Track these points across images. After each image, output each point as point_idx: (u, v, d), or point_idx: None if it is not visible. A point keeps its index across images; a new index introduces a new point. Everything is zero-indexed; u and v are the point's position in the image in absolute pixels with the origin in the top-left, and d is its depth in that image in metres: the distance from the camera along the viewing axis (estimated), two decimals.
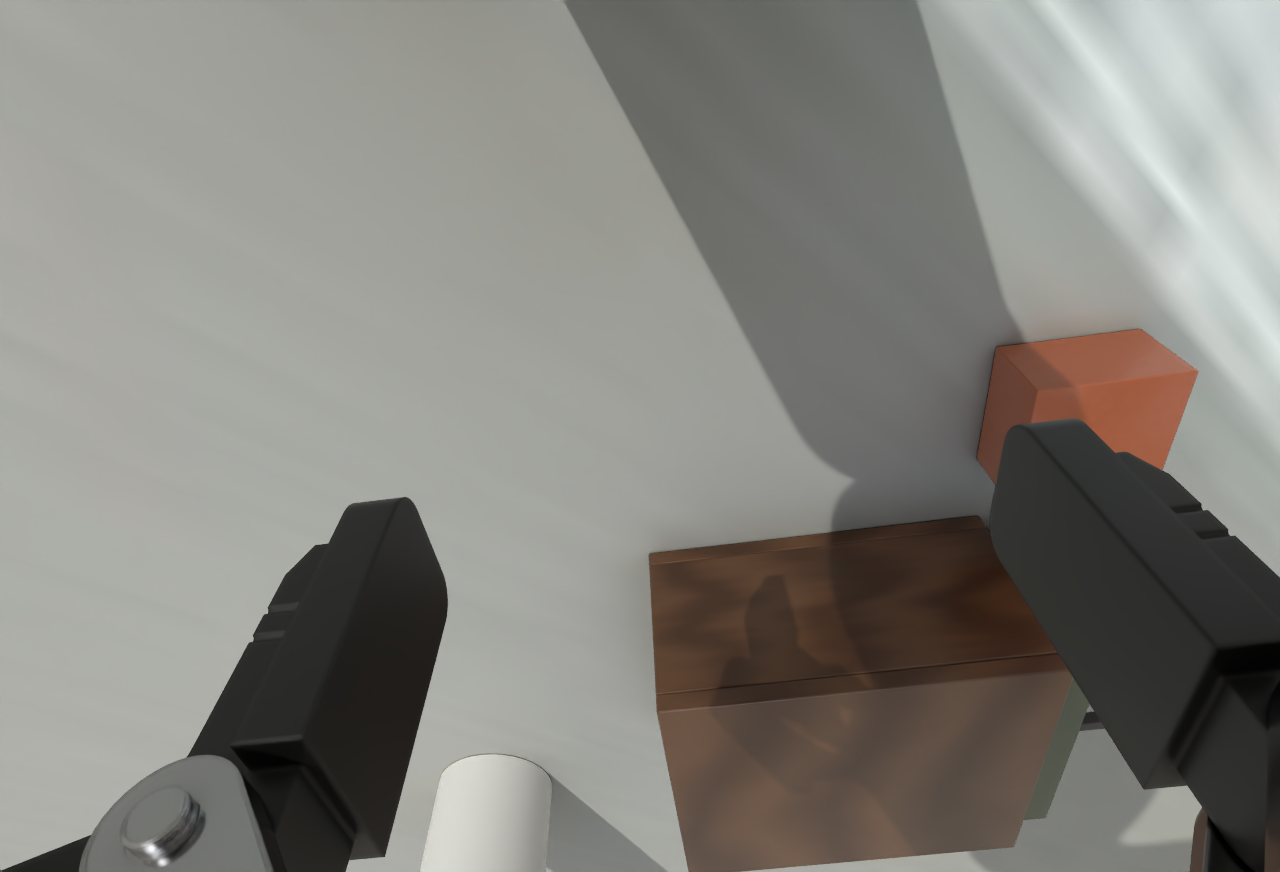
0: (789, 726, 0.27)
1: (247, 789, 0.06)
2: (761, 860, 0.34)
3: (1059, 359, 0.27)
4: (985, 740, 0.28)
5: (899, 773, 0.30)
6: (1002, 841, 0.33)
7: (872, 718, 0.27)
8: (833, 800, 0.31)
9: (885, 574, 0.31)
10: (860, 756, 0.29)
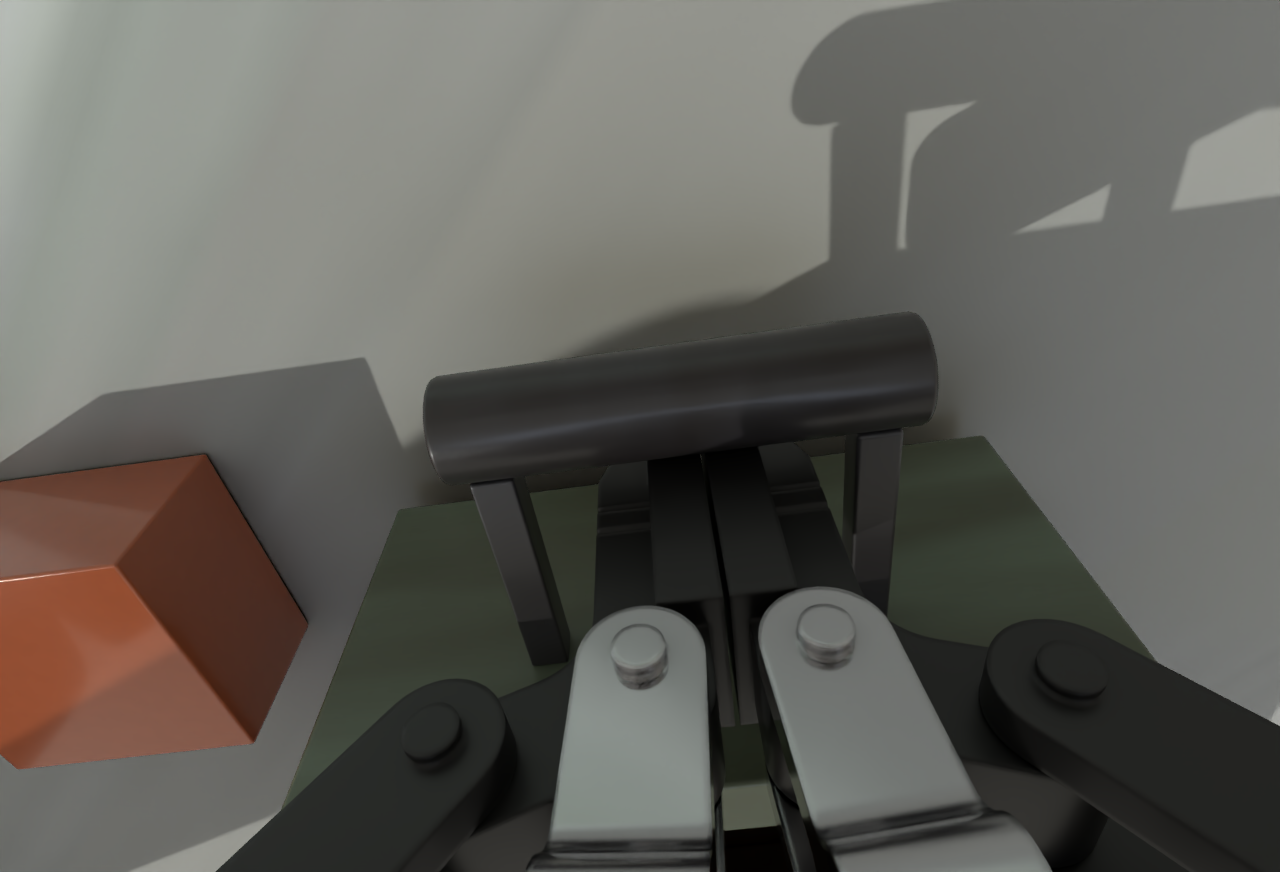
0: None
1: (706, 667, 0.06)
2: None
3: None
4: None
5: None
6: None
7: None
8: None
9: None
10: None
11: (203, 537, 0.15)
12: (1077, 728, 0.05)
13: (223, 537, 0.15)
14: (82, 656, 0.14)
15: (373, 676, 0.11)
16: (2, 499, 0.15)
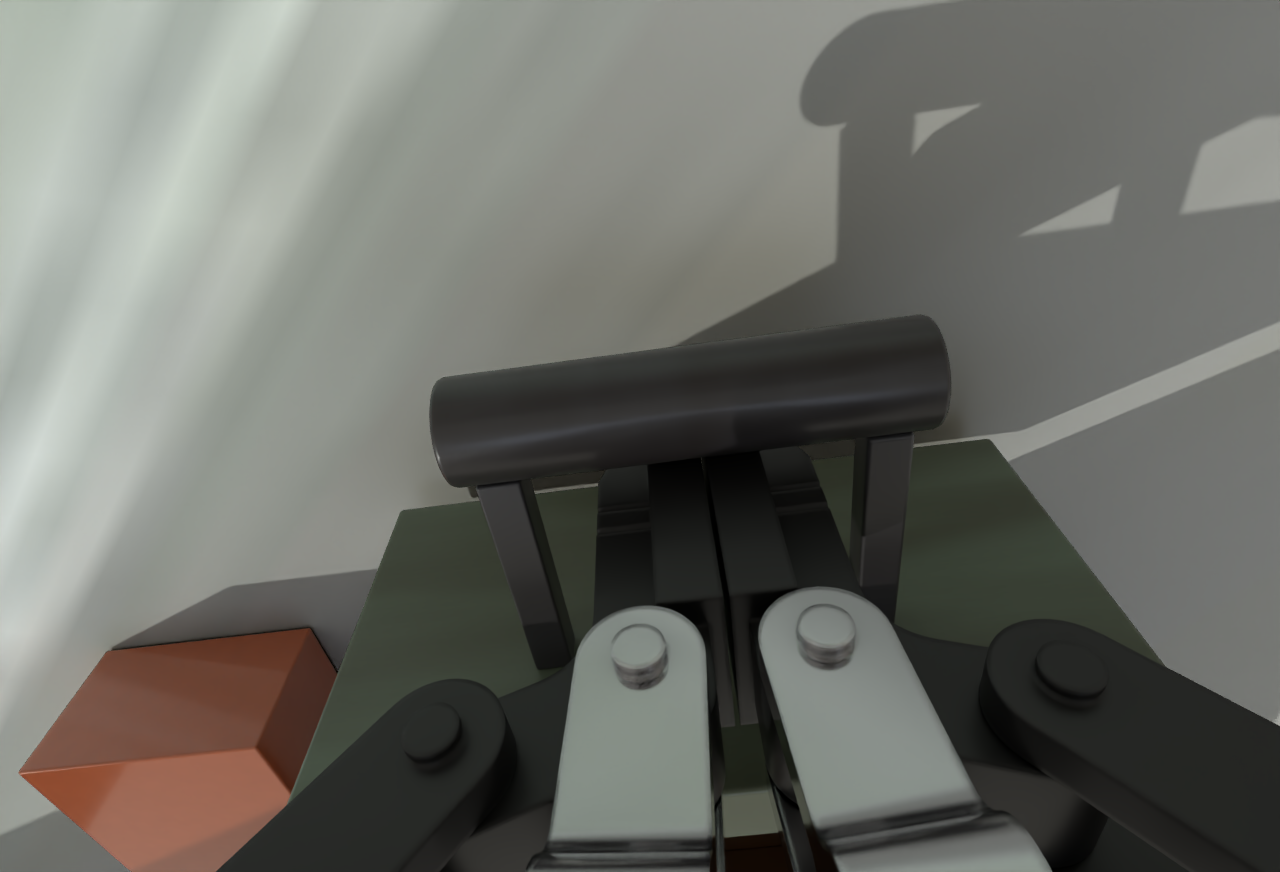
0: None
1: (706, 668, 0.06)
2: None
3: None
4: None
5: None
6: None
7: None
8: None
9: None
10: None
11: (310, 701, 0.18)
12: (1077, 728, 0.05)
13: (323, 695, 0.19)
14: (217, 808, 0.17)
15: (376, 679, 0.11)
16: (144, 669, 0.18)
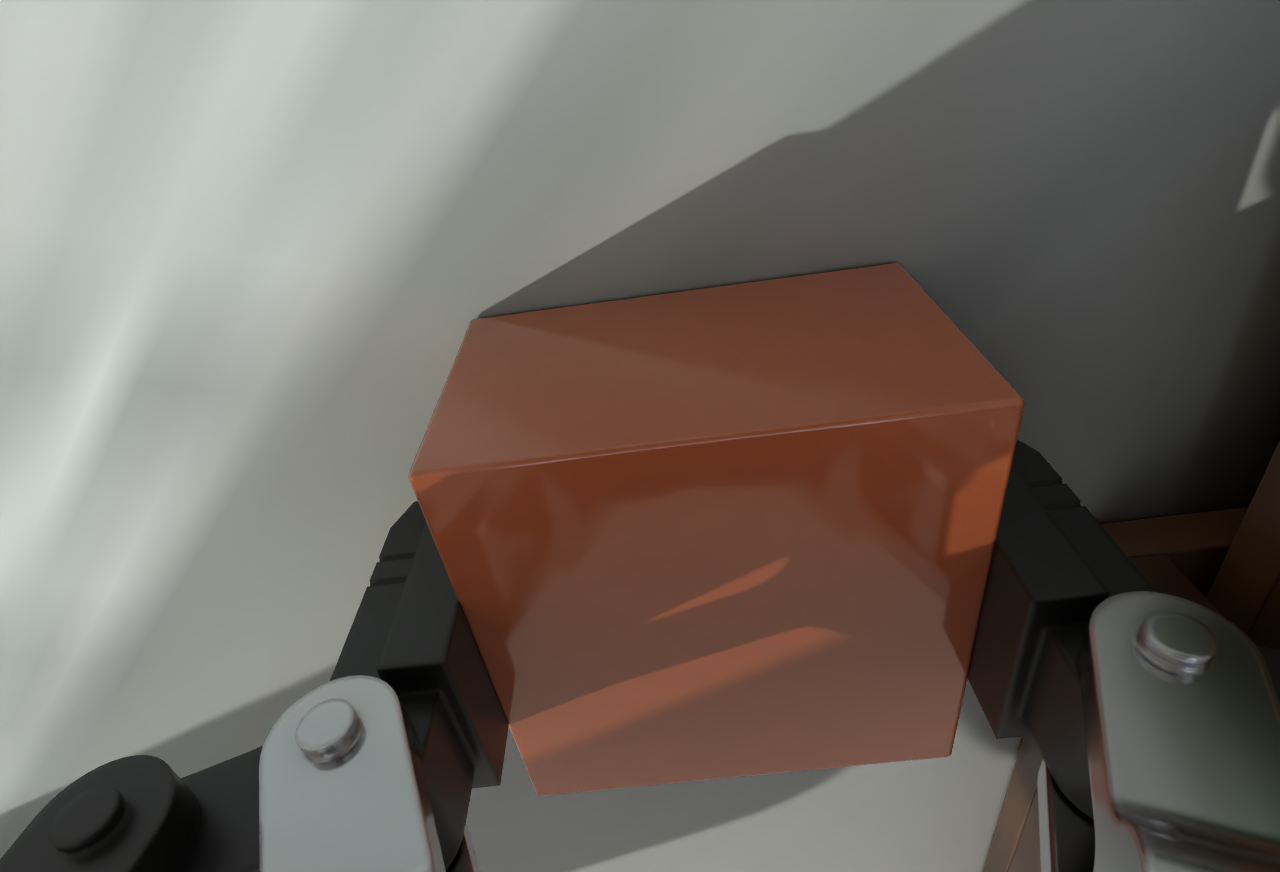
0: None
1: (403, 716, 0.06)
2: None
3: None
4: None
5: None
6: None
7: None
8: None
9: None
10: None
11: None
12: None
13: None
14: (804, 597, 0.07)
15: None
16: (581, 329, 0.09)
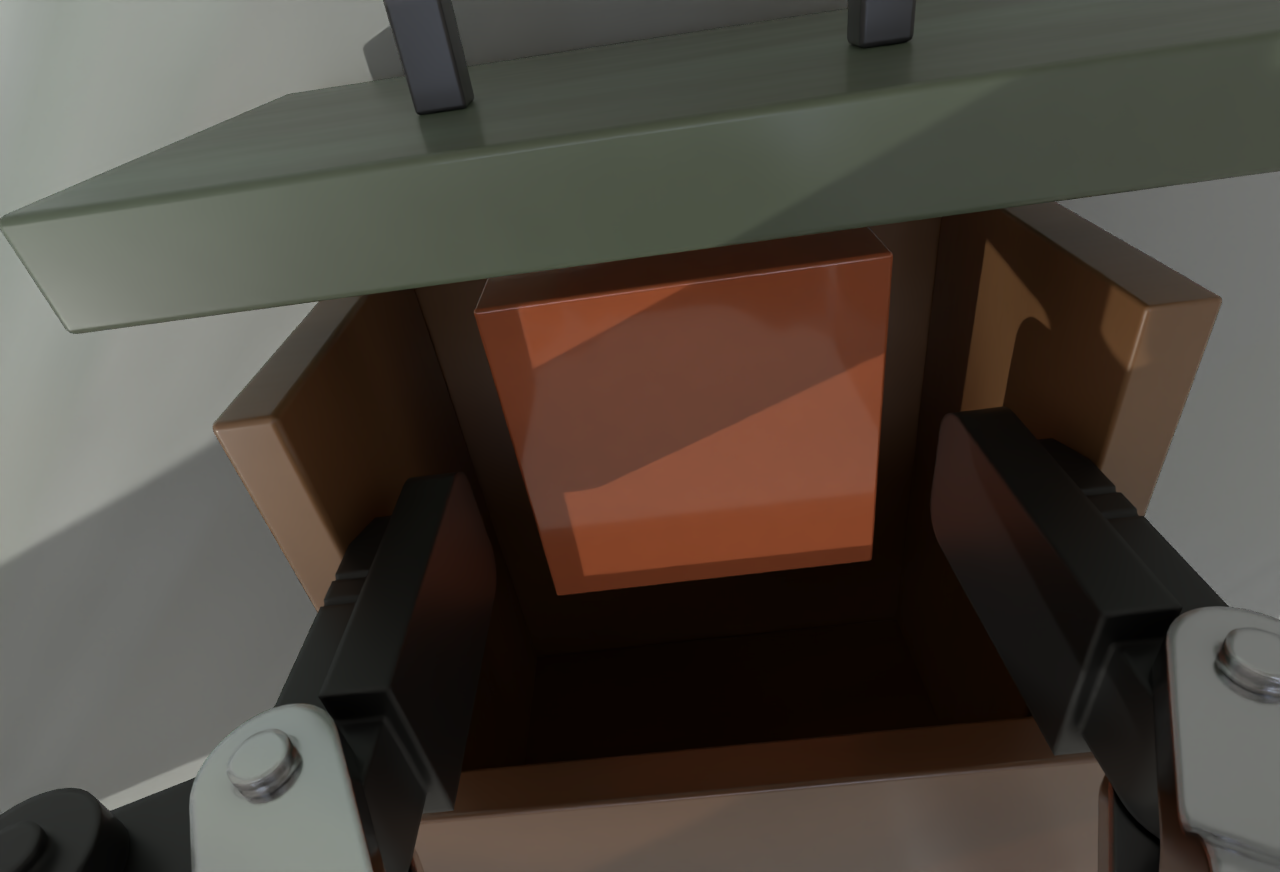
0: None
1: (341, 741, 0.06)
2: None
3: None
4: None
5: None
6: None
7: None
8: None
9: None
10: None
11: None
12: None
13: None
14: (751, 413, 0.10)
15: (200, 146, 0.08)
16: None
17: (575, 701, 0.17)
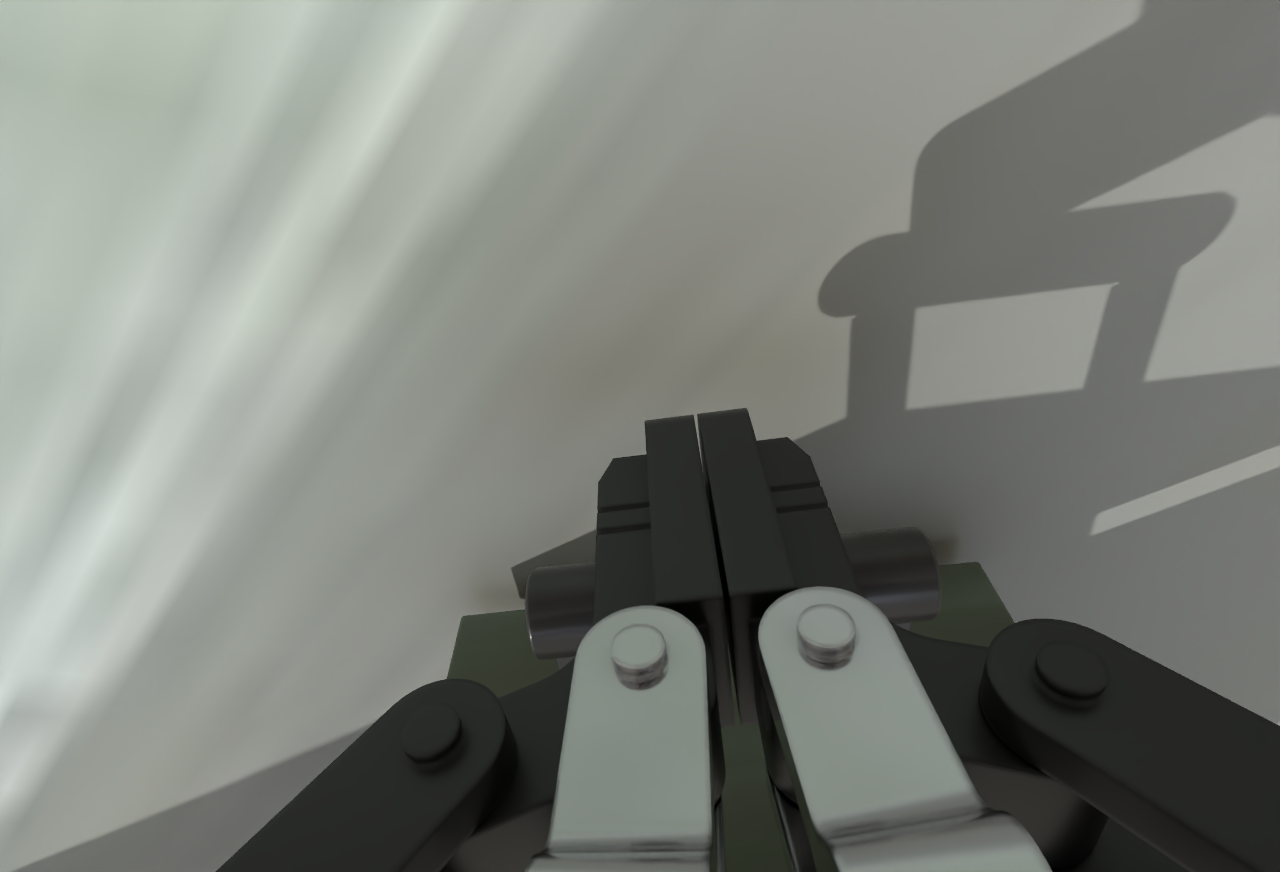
0: None
1: (706, 668, 0.06)
2: None
3: None
4: None
5: None
6: None
7: None
8: None
9: None
10: None
11: None
12: (1077, 728, 0.05)
13: None
14: None
15: None
16: None
17: None
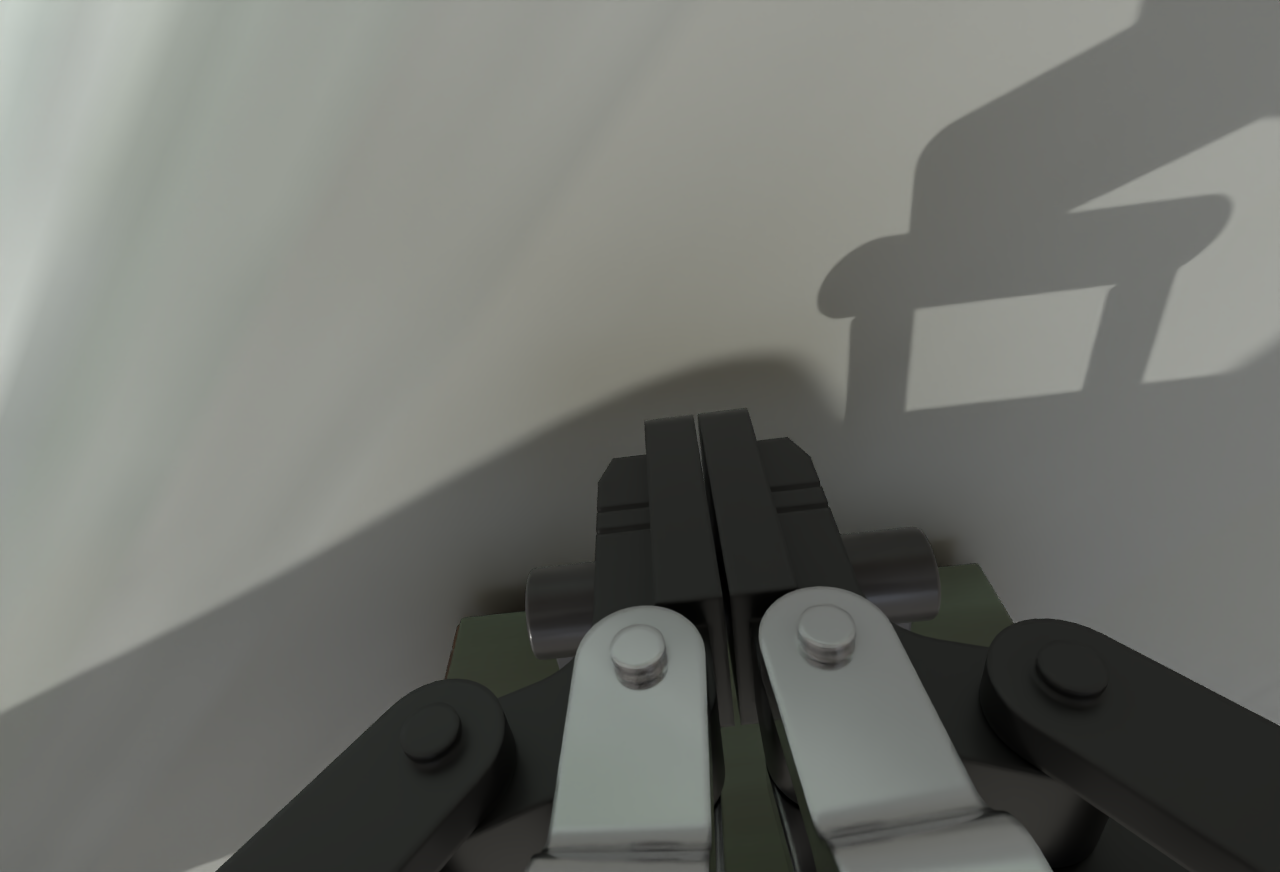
0: None
1: (706, 668, 0.06)
2: None
3: None
4: None
5: None
6: None
7: None
8: None
9: None
10: None
11: None
12: (1077, 728, 0.05)
13: None
14: None
15: None
16: None
17: None
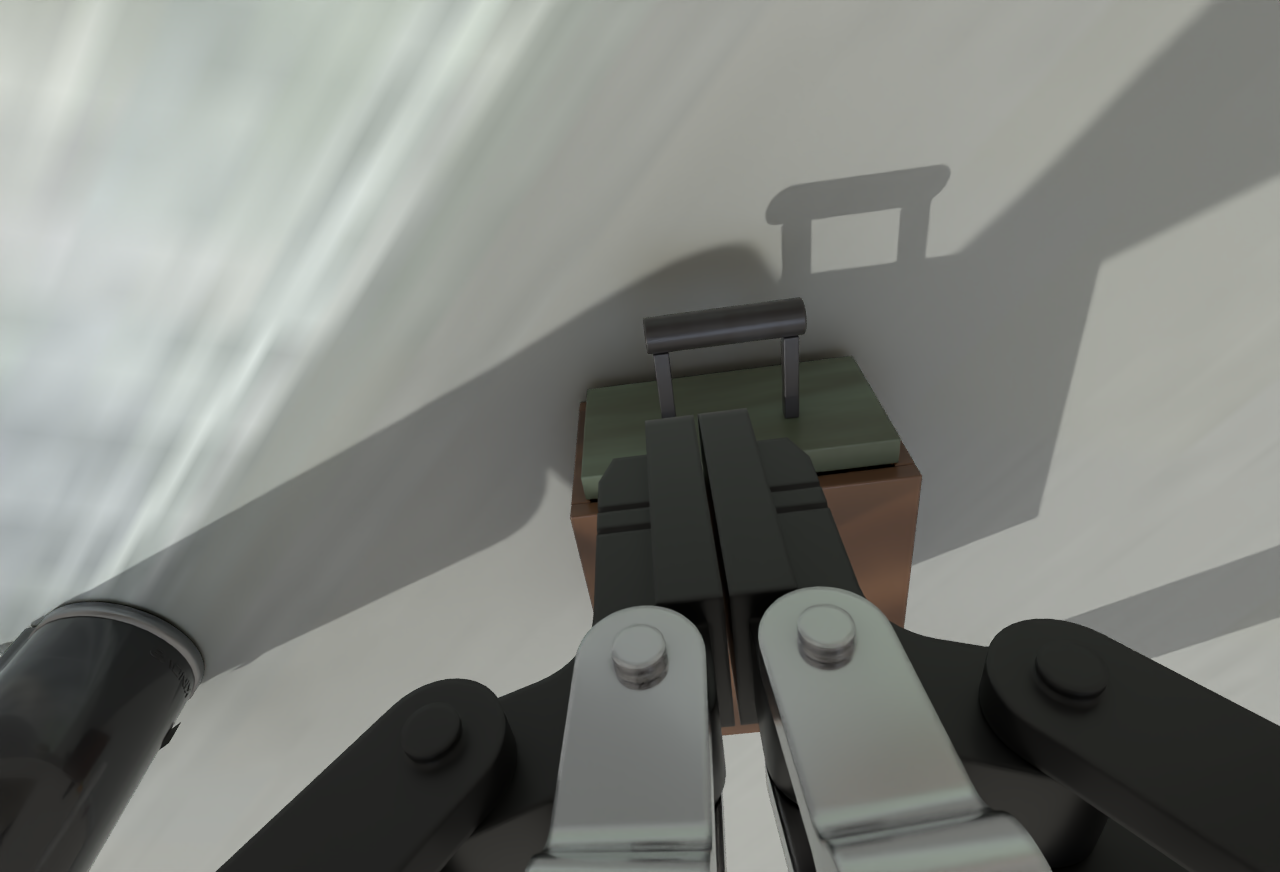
0: None
1: (706, 668, 0.06)
2: None
3: None
4: None
5: None
6: (900, 492, 0.27)
7: None
8: None
9: None
10: None
11: None
12: (1077, 728, 0.05)
13: None
14: None
15: (600, 440, 0.29)
16: None
17: None
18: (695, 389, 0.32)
